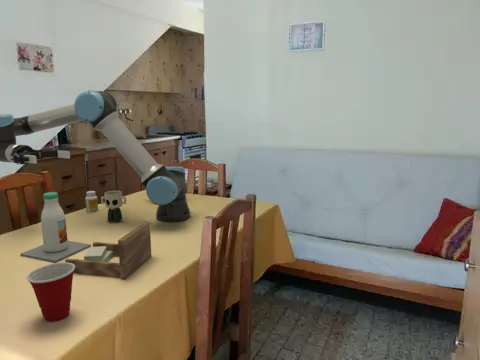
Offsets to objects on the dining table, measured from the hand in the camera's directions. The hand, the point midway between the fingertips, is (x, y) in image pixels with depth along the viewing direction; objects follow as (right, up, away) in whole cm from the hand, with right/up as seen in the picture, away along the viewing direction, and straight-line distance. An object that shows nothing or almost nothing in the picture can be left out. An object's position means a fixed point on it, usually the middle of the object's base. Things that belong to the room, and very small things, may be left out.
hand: (53, 157), depth 150 cm
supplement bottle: (-1, -24, +42) cm, 48 cm away
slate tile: (+5, -33, -8) cm, 35 cm away
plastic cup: (+24, -42, -50) cm, 70 cm away
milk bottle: (+5, -33, -8) cm, 34 cm away
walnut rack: (+27, -36, -20) cm, 49 cm away
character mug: (+15, -27, +26) cm, 40 cm away
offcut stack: (+23, -36, -17) cm, 46 cm away
